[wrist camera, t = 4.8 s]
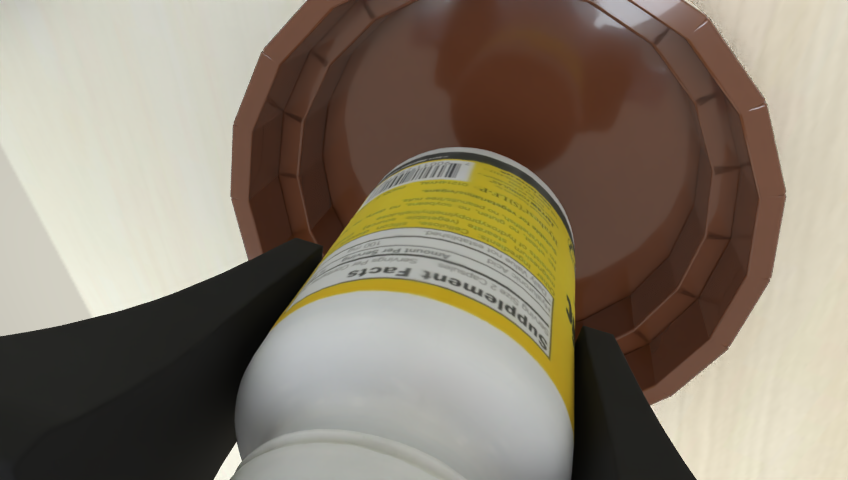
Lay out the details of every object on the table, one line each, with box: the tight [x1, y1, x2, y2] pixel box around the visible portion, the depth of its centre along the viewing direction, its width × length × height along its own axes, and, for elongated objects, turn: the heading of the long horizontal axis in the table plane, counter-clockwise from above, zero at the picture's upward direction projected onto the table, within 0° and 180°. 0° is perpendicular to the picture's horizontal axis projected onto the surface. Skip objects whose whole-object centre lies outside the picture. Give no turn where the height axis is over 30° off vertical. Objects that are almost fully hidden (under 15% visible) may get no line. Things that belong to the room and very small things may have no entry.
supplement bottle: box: [230, 147, 575, 480], centre depth 11 cm, size 5×5×10 cm
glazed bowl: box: [231, 0, 786, 405], centre depth 18 cm, size 15×15×4 cm
